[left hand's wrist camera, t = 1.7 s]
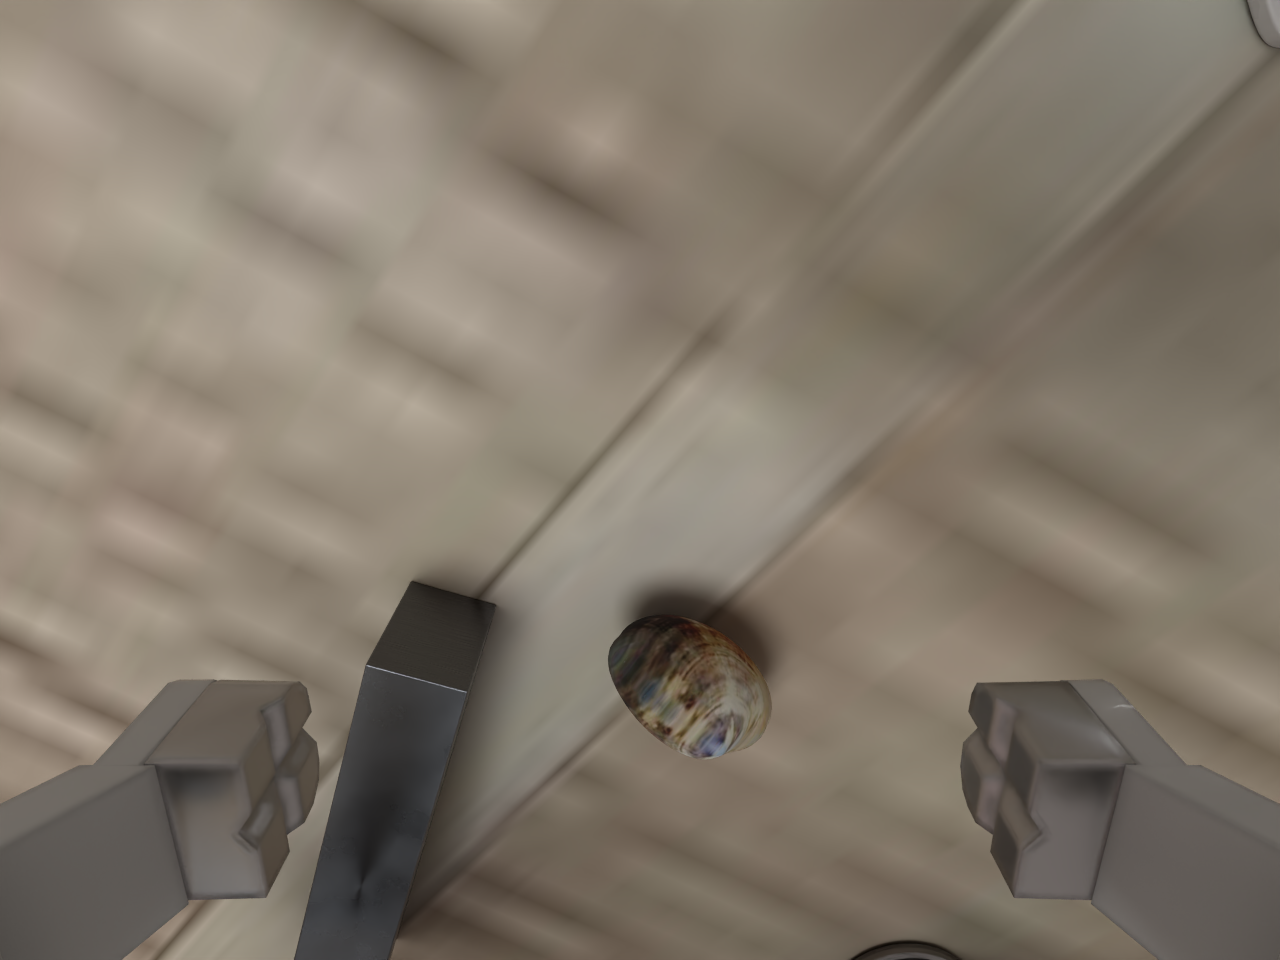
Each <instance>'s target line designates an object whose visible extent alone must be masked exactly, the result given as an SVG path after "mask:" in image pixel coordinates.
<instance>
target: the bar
mask: <svg viewBox="0 0 1280 960" xmlns="http://www.w3.org/2000/svg"><path fill="white" fill-rule="evenodd" d="M495 608H496V605H493V604H490V603H486V602H483V601H479V600H476V599H472V598H469V597H465V596H461V595H458V594H454V593H451V592H447V591H444V590H440V589H436V588H433V587H429V586H426V585H422V584H419V583H415V582H411V583H410V584H409V586H408V588H407V590H406V592H405V594H404V595H403V597H402V599H401V601H400V603H399V605H398V607H397V608H396V610H395V612H394V614H393V616H392V618H391V619H390V621H389V623H388V625H387V627H386V629H385V630H384V632H383V634H382V636H381V638H380V640H379V642H378V643H377V645H376V647H375V649H374V651H373V653H372V654H371V656H370V658H369V660H368V662H367V664H366V666H365V671H364V675H363V679H362V683H361V687H360V691H359V695H358V699H357V703H356V707H355V712H354V716H353V720H352V724H351V728H350V732H349V736H348V740H347V744H346V748H345V753H344V757H343V761H342V765H341V769H340V773H339V777H338V781H337V785H336V790H335V794H334V798H333V802H332V806H331V810H330V814H329V818H328V822H327V826H326V831H325V835H324V839H323V843H322V847H321V851H320V855H319V859H318V863H317V867H316V872H315V876H314V880H313V884H312V888H311V892H310V896H309V900H308V904H307V909H306V913H305V917H304V921H303V925H302V929H301V933H300V937H299V941H298V945H297V950H296V954H295V958H294V960H390V958H391V955H392V951H393V948H394V945H395V942H396V939H397V935H398V932H399V928H400V925H401V922H402V918H403V915H404V912H405V908H406V905H407V902H408V898H409V895H410V892H411V888H412V885H413V882H414V878H415V875H416V872H417V868H418V865H419V862H420V858H421V855H422V852H423V848H424V845H425V842H426V838H427V835H428V832H429V828H430V825H431V822H432V818H433V815H434V811H435V808H436V805H437V801H438V798H439V795H440V791H441V788H442V785H443V781H444V778H445V775H446V771H447V768H448V765H449V761H450V758H451V755H452V751H453V748H454V745H455V741H456V738H457V735H458V731H459V728H460V725H461V721H462V718H463V715H464V711H465V708H466V704H467V701H468V698H469V694H470V691H471V688H472V684H473V681H474V678H475V674H476V671H477V668H478V664H479V661H480V658H481V654H482V651H483V648H484V644H485V641H486V638H487V634H488V631H489V628H490V624H491V621H492V618H493V614H494V611H495Z"/></svg>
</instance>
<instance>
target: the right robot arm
mask: <svg viewBox="0 0 1280 960" xmlns="http://www.w3.org/2000/svg"><path fill="white" fill-rule="evenodd" d="M855 960H958V959H957V958H956V957H954V956H953V955H951V954H950V953H948V952H946V951H944V950H941V949H939V948H936V947H932V946H928V945H922V944H896V945H890V946H885V947H881V948H878V949H875V950H872V951H870V952H868V953H866V954H864V955H862V956H860V957H858V958H857V959H855Z"/></svg>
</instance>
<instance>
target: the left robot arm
mask: <svg viewBox="0 0 1280 960" xmlns="http://www.w3.org/2000/svg"><path fill="white" fill-rule="evenodd" d="M1247 1H1248V5H1249V8H1250V12H1251V15H1252V18H1253V21H1254V24H1255V26H1256V28H1257V31H1258V33H1259V35H1260V36H1261V38H1262V39H1263V40H1264V41H1265V42H1266V43H1267V44H1268V45H1270V46H1272V47H1275V48H1280V0H1247ZM311 712H312V711H311V706H310V701H309V696H308V691H307V688H306V687H305V686H304V685H303V684H302V683H301V682H299V681H251V680H219V681H217V680H177V681H174V682H170V683H168V684H167V685H166V686H165V687H164V688H163V689H162V690H161V691H160V692H159V694H158V695H157V696H156V697H155V698H154V699H153V700H152V701H151V702H150V703H149V704H148V706H147V707H146V708H145V709H144V710H143V711H142V712H141V713H140V714H139V715H138V717H137V718H136V719H135V720H134V721H133V722H132V723H131V724H130V725H129V726H128V727H127V729H126V730H125V731H124V732H123V733H122V734H121V735H120V736H119V737H118V738H117V739H116V741H115V742H114V743H113V744H112V745H111V746H110V747H109V748H108V749H107V750H106V752H105V753H104V754H103V755H102V756H101V757H100V758H99V759H98V760H97V761H96V762H95V764H94V765H79V766H77V767H75V768H73V769H71V770H69V771H67V772H64V773H62V774H60V775H58V776H56V777H54V778H52V779H50V780H48V781H46V782H44V783H42V784H40V785H38V786H36V787H34V788H32V789H30V790H28V791H26V792H24V793H22V794H20V795H18V796H16V797H13V798H11V799H9V800H7V801H5V802H3V803H1V804H0V960H122V959H123V958H124V957H126V956H127V955H128V954H129V953H130V952H132V951H133V950H134V949H135V948H136V947H138V946H139V945H140V944H141V943H142V942H144V941H145V940H146V939H147V938H148V937H150V936H151V935H152V934H153V933H154V932H156V931H157V930H158V929H159V928H160V927H162V926H163V925H164V924H165V923H167V922H168V921H169V920H170V919H171V918H173V917H174V916H175V915H176V914H177V913H179V912H180V911H181V910H182V909H183V908H185V907H186V906H187V905H188V903H189V902H188V900H206V899H240V898H266V897H267V895H268V893H269V891H270V889H271V887H272V885H273V883H274V881H275V879H276V877H277V875H278V873H279V871H280V870H281V868H282V866H283V864H284V862H285V860H286V858H287V856H288V854H289V852H290V850H289V844H288V839H287V834H289V833H290V832H292V831H293V830H294V829H296V828H297V827H299V826H300V825H302V824H303V823H304V822H305V820H306V818H307V816H308V814H309V812H310V810H311V808H312V806H313V804H314V799H315V795H316V790H317V786H318V781H319V755H318V748H317V742H316V741H315V740H314V739H313V738H312V737H311V736H310V735H309V734H308V733H307V732H306V731H305V730H304V729H303V728H302V727H303V726H304V724H305V722H306V720H307V719H308V717H309V715H310V714H311ZM968 712H969V714H970V715H971V717H972V719H973V720H974V722H975V724H976V726H977V727H978V728H977V729H976V730H975V731H974V732H973V733H972V734H971V735H970V736H969V737H968V738H967V739H966V740H965V741H964V742H963V749H962V757H961V765H960V767H961V778H962V789H963V792H964V796H965V799H966V802H967V806H968V808H969V810H970V812H971V814H972V816H973V818H974V820H975V822H976V823H977V824H978V825H980V826H981V827H983V828H984V829H986V830H987V831H988V832H990V833H991V834H993V839H992V844H991V850H990V852H991V854H992V856H993V858H994V860H995V862H996V864H997V866H998V868H999V869H1000V871H1001V873H1002V875H1003V877H1004V879H1005V881H1006V883H1007V885H1008V887H1009V889H1010V891H1011V893H1012V895H1013V897H1014V898H1038V899H1073V900H1092V902H1091V904H1092V905H1093V906H1095V907H1096V908H1097V909H1098V910H1099V911H1101V912H1102V913H1103V914H1104V915H1105V916H1107V917H1108V918H1109V919H1110V920H1111V921H1113V922H1114V923H1115V924H1116V925H1117V926H1119V927H1120V928H1121V929H1122V930H1123V931H1125V932H1126V933H1127V934H1128V935H1129V936H1131V937H1132V938H1133V939H1134V940H1135V941H1137V942H1138V943H1139V944H1140V945H1142V946H1143V947H1144V948H1145V949H1146V950H1148V951H1149V952H1150V953H1151V954H1152V955H1154V956H1155V957H1156V958H1157V959H1158V960H1280V804H1279V803H1277V802H1274V801H1272V800H1270V799H1268V798H1266V797H1264V796H1262V795H1260V794H1258V793H1256V792H1254V791H1252V790H1250V789H1248V788H1246V787H1244V786H1242V785H1240V784H1238V783H1236V782H1234V781H1232V780H1230V779H1228V778H1226V777H1224V776H1222V775H1220V774H1218V773H1215V772H1213V771H1211V770H1209V769H1207V768H1205V767H1203V766H1201V765H1186V764H1185V762H1184V761H1183V760H1182V759H1181V758H1180V757H1179V756H1178V755H1177V754H1176V753H1175V752H1174V750H1173V749H1172V748H1171V747H1170V746H1169V745H1168V744H1167V743H1166V742H1165V741H1164V739H1163V738H1162V737H1161V736H1160V735H1159V734H1158V733H1157V732H1156V731H1155V730H1154V729H1153V727H1152V726H1151V725H1150V724H1149V723H1148V722H1147V721H1146V720H1145V719H1144V718H1143V716H1142V715H1141V714H1140V713H1139V712H1138V711H1137V710H1136V709H1135V708H1134V707H1133V706H1132V704H1131V703H1130V702H1129V701H1128V700H1127V699H1126V698H1125V697H1124V696H1123V695H1122V694H1121V692H1120V691H1119V690H1118V689H1117V688H1116V687H1115V686H1114V685H1113V684H1112V683H1110V682H1107V681H1105V680H1103V679H1090V680H1061V681H1044V682H989V683H977V684H976V686H975V688H974V690H973V692H972V694H971V700H970V705H969V711H968Z"/></svg>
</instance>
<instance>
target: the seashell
mask: <svg viewBox="0 0 1280 960" xmlns="http://www.w3.org/2000/svg"><path fill="white" fill-rule="evenodd" d="M608 665H609V671H610V674H611V677H612V680H613V682H614V684H615V687H616V689H617V691H618V693H619V694H620V696H621V698H622V699H623V701H624V703H625V704H626V706H627V707H628V708H629V710H630V711H631V712H632V714H633V715H634V716H635V717H636V719H637V720H638V721H639V722H640V723H641V724H642V725H643V726H644V727H645V728H646V729H647V730H648V731H649V732H650V733H651V734H653V735H654V736H655V737H656V738H657V739H659V740H660V741H661V742H663V743H664V744H666V745H667V746H669V747H671V748H672V749H674V750H676V751H678V752H680V753H682V754H684V755H687V756H690V757H693V758H697V759H713V758H717V757H719V756H721V755H723V754H725V753H730V752H735V751H739V750H742V749H745V748H747V747H749V746H751V745H752V744H754V743H755V742H756V741H757V740H758V739H759V738H760V737H761V736H762V734H763V733H764V731H765V729H766V726H767V725H768V723H769V720H770V717H771V710H772V703H771V696H770V693H769V689H768V686H767V684H766V682H765V680H764V678H763V676H762V674H761V673H760V671H759V669H758V668H757V667H756V665H755V664H754V663H753V661H752V660H751V659H750V658H749V656H748V655H747V654H746V653H745V652H744V651H743V650H742V649H741V648H740V647H739V646H737V645H736V644H735V643H734V642H733V641H732V640H730V639H729V638H728V637H726V636H725V635H723V634H722V633H720V632H719V631H717V630H715V629H713V628H711V627H709V626H708V625H705V624H703V623H700V622H698V621H695V620H692V619H689V618H685V617H680V616H674V615H654V616H649V617H645V618H642V619H640V620H637V621H635V622H633V623H632V624H630V625H629V626H627V627H626V628H625V629H624V631H623V632H622V633H621V635H620V636H619V637H618V638H617V639H616V640H615V641H614V642H613V644H612V646H611V647H610V650H609V655H608Z"/></svg>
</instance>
